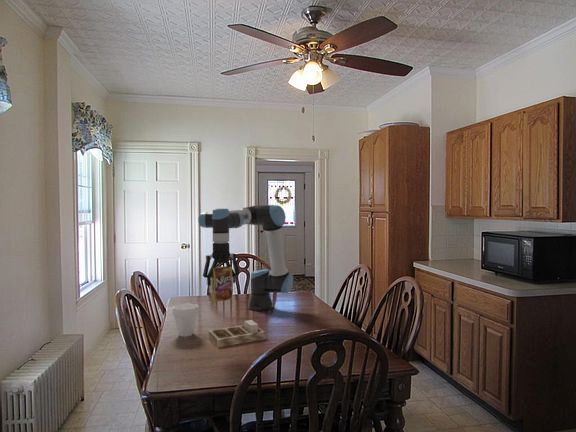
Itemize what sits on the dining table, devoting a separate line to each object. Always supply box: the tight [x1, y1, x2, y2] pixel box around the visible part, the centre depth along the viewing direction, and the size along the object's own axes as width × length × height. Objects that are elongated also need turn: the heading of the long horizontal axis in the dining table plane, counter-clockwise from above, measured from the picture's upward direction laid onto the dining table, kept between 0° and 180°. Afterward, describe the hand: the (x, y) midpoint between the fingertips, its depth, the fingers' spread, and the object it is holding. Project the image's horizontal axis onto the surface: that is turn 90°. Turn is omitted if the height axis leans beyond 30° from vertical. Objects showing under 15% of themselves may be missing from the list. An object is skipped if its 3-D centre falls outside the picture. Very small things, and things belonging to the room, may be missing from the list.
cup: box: [172, 303, 199, 338], centre depth 190 cm, size 12×12×14 cm
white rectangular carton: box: [243, 319, 259, 333], centre depth 184 cm, size 4×8×6 cm, turn 28°
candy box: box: [210, 265, 233, 303], centre depth 177 cm, size 9×4×15 cm, turn 123°
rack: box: [207, 324, 267, 348], centre depth 181 cm, size 23×16×4 cm
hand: (221, 291), depth 177 cm, fingers closed on candy box, 9 cm apart
